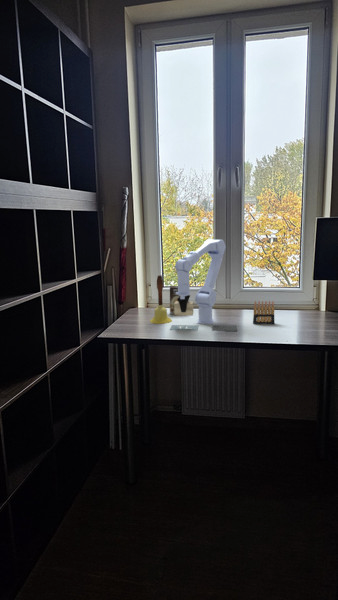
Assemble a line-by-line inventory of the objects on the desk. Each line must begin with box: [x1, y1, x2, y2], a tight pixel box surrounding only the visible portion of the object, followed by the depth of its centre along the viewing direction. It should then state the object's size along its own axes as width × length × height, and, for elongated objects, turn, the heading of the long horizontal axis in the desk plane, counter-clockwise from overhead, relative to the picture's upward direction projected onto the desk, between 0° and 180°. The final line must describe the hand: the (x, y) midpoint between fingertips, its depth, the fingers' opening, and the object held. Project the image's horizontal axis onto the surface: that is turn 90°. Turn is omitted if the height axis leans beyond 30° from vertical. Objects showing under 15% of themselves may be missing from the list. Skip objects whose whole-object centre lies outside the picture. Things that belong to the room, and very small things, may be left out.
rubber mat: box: [211, 324, 238, 332], centre depth 205 cm, size 10×12×1 cm
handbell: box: [149, 274, 173, 325], centre depth 221 cm, size 12×12×25 cm
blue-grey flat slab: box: [169, 324, 200, 331], centre depth 208 cm, size 10×14×1 cm
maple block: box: [174, 301, 194, 317], centre depth 206 cm, size 5×9×6 cm, turn 83°
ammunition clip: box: [252, 300, 276, 325], centre depth 212 cm, size 11×2×12 cm, turn 86°
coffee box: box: [169, 285, 179, 316], centre depth 239 cm, size 9×6×16 cm
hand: (184, 310), depth 206 cm, fingers closed on maple block, 5 cm apart
